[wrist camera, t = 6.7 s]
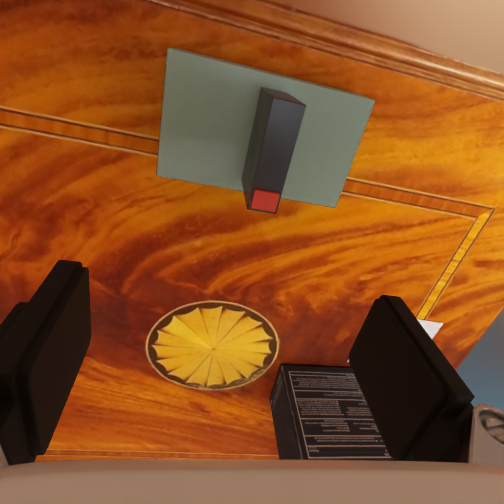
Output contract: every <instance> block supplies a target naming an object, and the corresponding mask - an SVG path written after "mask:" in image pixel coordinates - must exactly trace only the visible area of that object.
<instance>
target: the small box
mask: <svg viewBox="0 0 504 504" xmlns="http://www.w3.org/2000/svg"><path fill="white" fill-rule="evenodd" d="M277 376H278V377H277V380H276V383H275V385H274V388H273V391H272V393H271V398H270V404H271V410H272V416H273V422H274V428H275V434H276V440H277V446H278V452H279V459H280V460H368V461H395V459H394V458H392V457H391V456H390V455H389V453H388V451H387V449H386V447H385V444H384V442H383V440H382V437H381V435H380V433H379V430H378V428H377V426H376V424H375V421H374V419H373V417H372V414H371V412H370V410H369V407H368V405H367V403H366V400H365V398H364V396H363V393H362V391H361V389H360V386H359V384H358V382H357V380H356V377H355V375H354V373H353V370H352V368H340V367H320V366H299V365H282V366H281V367H280V369H279V374H278V375H277Z"/></svg>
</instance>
